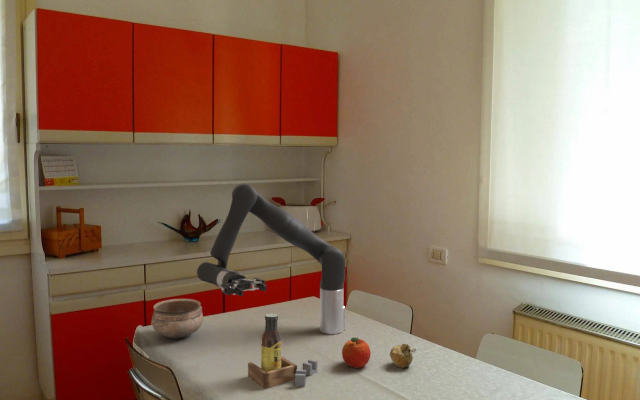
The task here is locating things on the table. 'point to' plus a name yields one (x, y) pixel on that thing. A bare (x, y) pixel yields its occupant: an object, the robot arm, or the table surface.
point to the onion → (402, 355)
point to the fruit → (356, 353)
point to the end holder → (273, 374)
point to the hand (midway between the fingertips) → (254, 290)
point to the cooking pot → (177, 318)
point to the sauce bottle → (271, 345)
